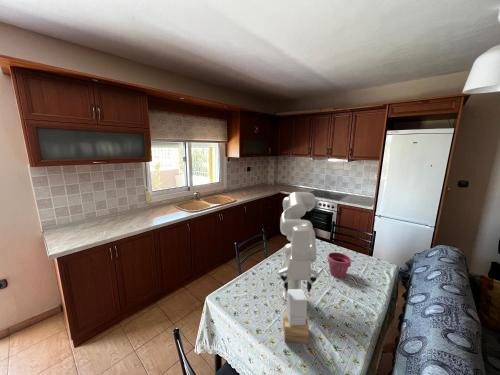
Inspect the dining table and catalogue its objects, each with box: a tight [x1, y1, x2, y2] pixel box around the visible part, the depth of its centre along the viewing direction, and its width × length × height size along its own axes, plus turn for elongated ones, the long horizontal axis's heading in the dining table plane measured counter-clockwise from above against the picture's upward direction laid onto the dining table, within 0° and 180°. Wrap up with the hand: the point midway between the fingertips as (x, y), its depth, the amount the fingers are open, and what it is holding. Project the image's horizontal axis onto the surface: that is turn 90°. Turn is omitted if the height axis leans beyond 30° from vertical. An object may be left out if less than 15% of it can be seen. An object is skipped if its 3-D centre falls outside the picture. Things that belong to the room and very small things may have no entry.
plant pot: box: [327, 251, 352, 279], centre depth 139 cm, size 14×14×13 cm
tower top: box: [283, 309, 310, 338], centre depth 94 cm, size 10×10×4 cm
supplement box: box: [286, 288, 308, 326], centre depth 93 cm, size 7×7×13 cm
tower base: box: [282, 316, 309, 345], centre depth 95 cm, size 10×10×4 cm
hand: (297, 289), depth 92 cm, fingers open, 9 cm apart
